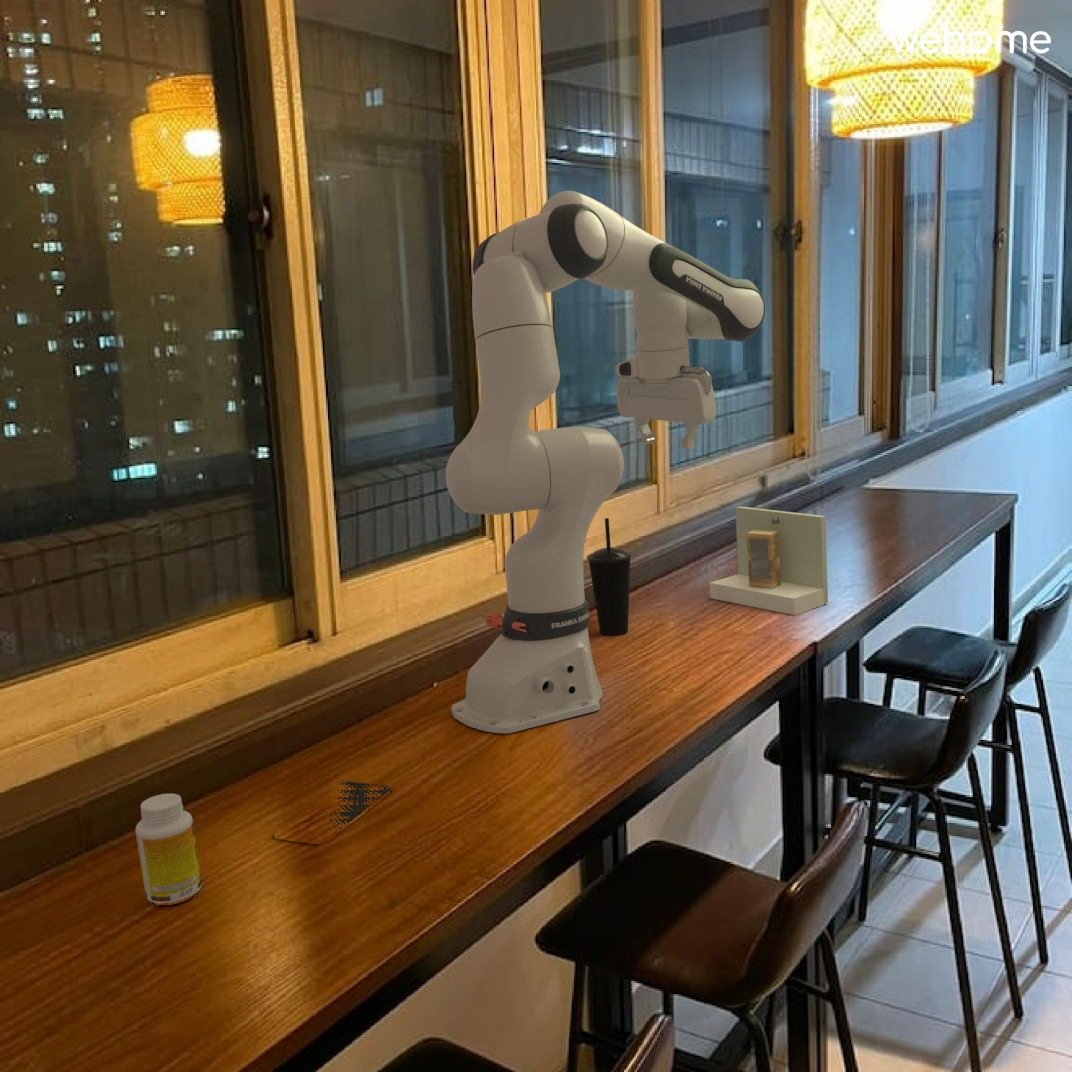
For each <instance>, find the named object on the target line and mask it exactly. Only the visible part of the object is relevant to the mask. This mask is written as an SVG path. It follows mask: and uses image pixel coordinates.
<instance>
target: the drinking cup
mask: <svg viewBox="0 0 1072 1072" xmlns="http://www.w3.org/2000/svg"><path fill="white" fill-rule="evenodd" d="M604 526H605V540H606V541H605V542H606V543H605V544H606V547H603V548H599V549H596V550H595V551H593V552H591V553H589V554H588V555H587V556H586V560H587V562H588V565H589V571H590V576H591V577H590V578H591V583H592V584H591V585H592V589H593V590H592V591H593V595H594V596H593V597H594V602H595V608H596V609H595V610H596V614H597V616H596V617H597V621H598V627H599V628H598V629H599V634H600V635H603V636H606V637H616V636H623V635H625V634H627V633H628V631H629V611H630V609H629V607H630V605H629V604H630V580H631V579H630V578H631V575H630V574H631V559H632V552H630V551H628V550H625V549H623V548H619V547H613V546H611V534H610V532H611V531H610V519H609V517H605V518H604Z"/></svg>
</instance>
